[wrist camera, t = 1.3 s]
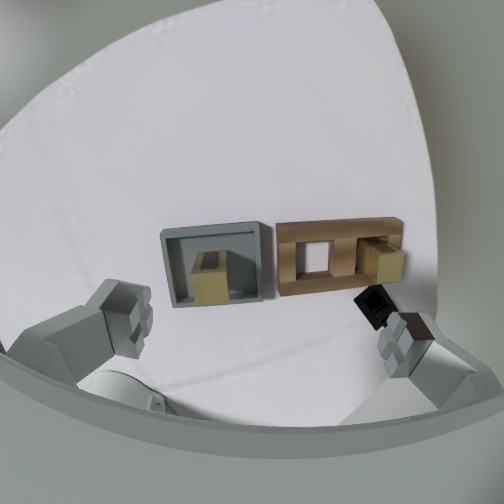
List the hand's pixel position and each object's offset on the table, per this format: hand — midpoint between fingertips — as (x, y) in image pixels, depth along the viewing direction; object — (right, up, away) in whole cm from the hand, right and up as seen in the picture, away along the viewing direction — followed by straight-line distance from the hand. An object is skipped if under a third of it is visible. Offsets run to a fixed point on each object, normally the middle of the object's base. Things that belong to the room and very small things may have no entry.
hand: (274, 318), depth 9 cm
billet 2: (+17, +3, +32) cm, 36 cm away
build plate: (+21, -7, +36) cm, 43 cm away
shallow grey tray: (-6, +1, +31) cm, 31 cm away
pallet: (+12, +2, +32) cm, 34 cm away
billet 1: (-6, 0, +30) cm, 31 cm away
